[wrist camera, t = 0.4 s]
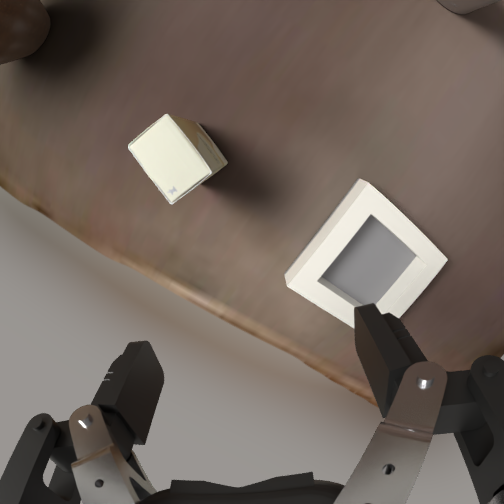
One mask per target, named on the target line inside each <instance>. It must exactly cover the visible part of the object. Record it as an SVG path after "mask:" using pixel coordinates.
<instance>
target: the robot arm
mask: <svg viewBox="0 0 504 504" xmlns="http://www.w3.org/2000/svg"><path fill="white" fill-rule="evenodd" d="M437 1H438V2H439V3H440V4H442V5H443V6H444V7H446V8H447V9H449V10H450V11H452V12H454V13H457V14H467V13H470V12H472V11H475V10H477V9H480V8H482V7H485V6H487V5H490V4H493V3H495V2H498V1H501V0H437ZM354 330H355V346H356V351H357V354H358V357H359V359H360V361H361V364H362V366H363V369H364V371H365V374H366V376H367V379H368V381H369V384H370V386H371V389H372V391H373V394H374V396H375V399H376V401H377V404H378V407H379V409H380V412H381V414H382V417H383V418H385V417H386V418H385V420H384V422H381V423H380V424H379V426H378V427H377V429H376V431H375V433H374V435H373V437H372V439H371V441H370V443H369V445H368V447H367V448H366V450H365V452H364V454H363V456H362V458H361V460H360V461H359V463H358V465H357V466H356V468H355V470H354V472H353V473H352V475H351V477H350V478H349V480H348V482H347V483H346V485H345V486H344V485H341V484H338V483H334V482H330V481H323V480H314V479H313V472H309V473H302V474H295V475H289V476H280V477H275V478H271V479H268V480H265V481H262V482H258V483H255V484H251V485H248V486H244V487H239V488H237V487H231V486H225V485H220V484H215V483H211V482H206V481H185V480H172V482H171V487H170V489H166V490H162V491H159V492H157V491H156V490H155V488H154V487H153V486H152V484H151V482H150V481H149V479H148V477H147V475H146V474H145V472H144V470H143V468H142V466H141V464H140V463H139V461H138V459H137V457H136V455H135V453H134V452H133V450H132V447H133V444H139V445H145V443H146V439H147V436H148V433H149V429H150V426H151V422H152V419H153V416H154V413H155V409H156V406H157V403H158V400H159V397H160V393H161V390H162V387H163V384H164V373H163V370H162V367H161V365H160V363H159V361H158V359H157V357H156V355H155V353H154V351H153V349H152V347H151V344H150V343H149V342H148V341H138V342H130V343H129V344H128V345H127V347H126V349H125V351H124V353H123V355H120V356H119V357H118V358H117V359H116V360H115V361H114V362H113V363H112V364H111V366H110V368H109V370H108V374H106V376H105V378H104V381H102V383H101V385H100V387H99V389H98V391H97V393H96V395H95V397H94V399H93V401H92V403H91V405H85V406H82V407H80V408H78V409H77V410H75V411H74V412H73V414H72V415H71V417H70V419H69V420H67V421H62V422H55V421H54V420H53V418H52V417H51V416H50V415H49V414H46V413H42V414H39V415H36V416H35V417H33V418H32V419H31V420H30V421H29V423H28V424H27V426H26V428H25V430H24V432H23V434H22V436H21V438H20V440H19V441H18V444H17V445H16V448H15V450H14V452H13V454H12V456H11V458H10V460H9V462H8V464H7V466H6V469H5V471H4V473H3V475H2V477H1V480H0V504H80V501H81V500H82V503H83V504H405V503H406V501H407V499H408V497H409V495H410V493H411V490H412V488H413V486H414V484H415V481H416V479H417V477H418V474H419V472H420V469H421V467H422V464H423V462H424V459H425V456H426V454H427V451H428V448H429V445H430V442H431V439H432V436H433V435H434V434H445V433H454V436H455V438H456V440H457V443H458V445H459V448H460V450H461V453H462V455H463V458H464V460H465V463H466V466H467V468H468V471H469V474H470V476H471V479H472V482H473V484H474V488H475V490H476V493H477V496H478V499H479V502H480V504H504V361H503V360H502V359H501V358H499V357H496V356H491V355H486V356H482V357H479V358H478V359H476V360H475V361H474V362H473V364H472V366H471V369H470V370H465V371H455V372H446V371H445V369H444V368H443V367H441V366H440V365H438V364H436V363H434V362H428V361H427V359H426V358H425V356H424V354H423V353H422V351H421V350H420V348H419V347H418V345H417V344H416V342H415V341H414V339H413V338H412V336H410V333H409V332H408V330H407V329H405V326H404V325H403V323H402V322H401V320H400V319H399V318H397V317H396V316H394V315H393V314H391V313H385V314H381V313H380V311H379V309H378V308H377V306H376V305H375V304H374V303H370V304H366V305H362V306H358V307H355V308H354ZM49 458H50V459H51V460H52V461H53V462H54V463H55V464H56V468H55V471H54V473H53V476H52V479H51V481H50V484H49V487H47V486H46V485H45V484H44V482H43V473H44V470H45V468H46V465H47V463H48V461H49Z"/></svg>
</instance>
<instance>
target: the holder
mask: <svg viewBox="0 0 504 504" xmlns="http://www.w3.org/2000/svg"><path fill="white" fill-rule="evenodd" d="M447 260H448V259H447V258H446V257H445V256H444V255H443V254H442V253H441V252H440V251H439V250H438V248H437V247H436V246H435V245H434V244H433V243H432V242H431V241H430V240H429V239H428V238H427V237H426V236H425V235H424V234H423V233H422V232H421V231H420V230H419V229H418V228H417V227H416V226H415V225H414V224H413V223H412V222H411V221H410V220H409V219H408V218H407V217H406V216H405V215H404V214H403V213H402V212H401V211H400V210H398V209H397V208H396V207H395V206H394V205H393V204H392V203H391V202H390V201H389V200H388V199H387V198H385V197H384V196H383V195H382V194H381V193H380V192H379V191H378V190H377V189H375V188H374V187H373V186H372V185H371V184H370V183H369V182H366V181H364V180H362V179H360V178H358V179H357V181H356V182H355V183H354V185H353V186H352V187H351V189H350V190H349V191H348V193H347V194H346V195H345V196H344V198H343V199H342V200H341V202H340V203H339V204H338V206H337V207H336V208H335V210H334V211H333V212H332V213H331V215H330V216H329V217H328V219H327V220H326V221H325V223H324V224H323V225H322V226H321V228H320V229H319V230H318V232H317V233H316V234H315V235H314V237H313V238H312V239H311V240H310V242H309V243H308V244H307V246H306V247H305V248H304V249H303V251H302V252H301V253H300V254H299V256H298V257H297V258H296V259H295V261H294V262H293V263H292V264H291V266H290V267H289V268H288V269H287V271H286V272H285V273H284V274H285V279H286V284H287V287H289V288H291V289H292V290H294V291H295V292H297V293H299V294H300V295H302V296H303V297H305V298H306V299H308V300H310V301H311V302H313V303H314V304H316V305H318V306H319V307H321V308H322V309H324V310H325V311H327V312H329V313H330V314H332V315H333V316H335V317H337V318H338V319H340V320H341V321H343V322H345V323H346V324H348V325H349V326H351V327H353V328H354V308H355V307H358V306H362V305H366V304H370V303H374V304H375V305H376V306H377V308H378V309H379V311H380V313H381V314H385V313H391V314H393V315H394V316H396V317H397V318H400V317H401V316H402V315H403V313H404V312H405V311H406V310H407V309H408V308H409V307H410V306H411V304H412V303H413V302H414V301H415V300H416V299H417V297H418V296H419V295H420V294H421V293H422V292H423V290H424V289H425V288H426V287H427V286H428V284H429V283H430V282H431V281H432V279H433V278H434V277H435V276H436V275H437V273H438V272H439V271H440V269H441V268H442V267H443V266H444V264H445V263H446V262H447Z"/></svg>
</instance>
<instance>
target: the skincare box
mask: <svg viewBox="0 0 504 504" xmlns="http://www.w3.org/2000/svg"><path fill="white" fill-rule="evenodd" d="M128 148H129V150H130V151H131V153H132V154H133V155H134V157H135V158H136V160H137V161H138V162H139V164H140V165H141V166H142V168H143V169H144V170H145V172H146V173H147V174H148V176H149V177H150V178H151V180H152V181H153V182H154V183H155V185H156V186H157V187H158V189H159V190H160V191H161V192H162V194H163V195H164V196H165V198H166V199H167V200H168V201H169V203H170V204H174V203H175V202H176V201H178V200H179V199H180V198H182V197H183V196H184V195H186V194H187V193H189V192H190V191H191V190H193V189H194V188H196V187H197V186H198V185H200V184H201V183H203V182H204V181H205V180H207V179H208V178H210V177H211V176H212V175H214V174H215V173H216V172H218V171H219V170H220V169H222V168H223V167H224V166H225V165H227V164H228V162H227V160H226V159H225V158H224V156H223V155H222V153H221V152H220V150H219V149H218V148H217V146H216V145H215V144H214V142H213V141H212V139H211V138H210V137H209V136H208V135H207V133H206V132H205V131H204V130H203V128H202V127H201V126H200V125H199V124H198V123H197V122H194V121H191V120H187V119H184V118H180V117H177V116H173V115H170V114H165V115H164V116H163V117H161V118H160V119H159V120H157V121H156V122H155V123H154V124H152V125H151V126H150V127H148V128H147V129H146V130H145V131H144V132H143V133H141V134H140V135H139V136H138V137H137V138H136V139H134V140H133V141H132V142H131V143H130V144H129V145H128Z"/></svg>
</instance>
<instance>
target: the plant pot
mask: <svg viewBox="0 0 504 504" xmlns="http://www.w3.org/2000/svg"><path fill="white" fill-rule="evenodd" d="M49 29H50V17H49V15H48V13H47V11H46V9H45V8H44V6H43V5H42V3H41V2H40V0H0V65H1V64H4V63H8V62H11V61H14V60H17V59H20V58H23V57H26V56H29V55H31V54H33V53H34V52H35V51H36V50H37V49H38V48H39V47H40V46H41V45H42V44H43V42H44V41H45V39H46V37H47V35H48V33H49Z"/></svg>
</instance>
